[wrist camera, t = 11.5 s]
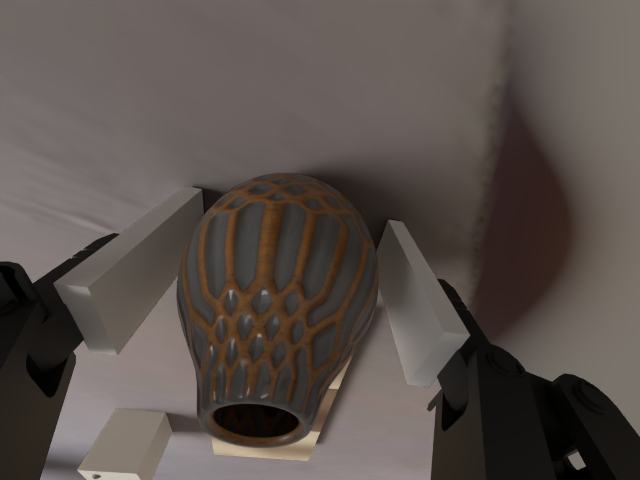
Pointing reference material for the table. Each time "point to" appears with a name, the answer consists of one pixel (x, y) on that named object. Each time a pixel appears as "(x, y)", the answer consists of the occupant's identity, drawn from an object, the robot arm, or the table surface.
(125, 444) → the die
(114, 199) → the table surface
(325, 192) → the vase
